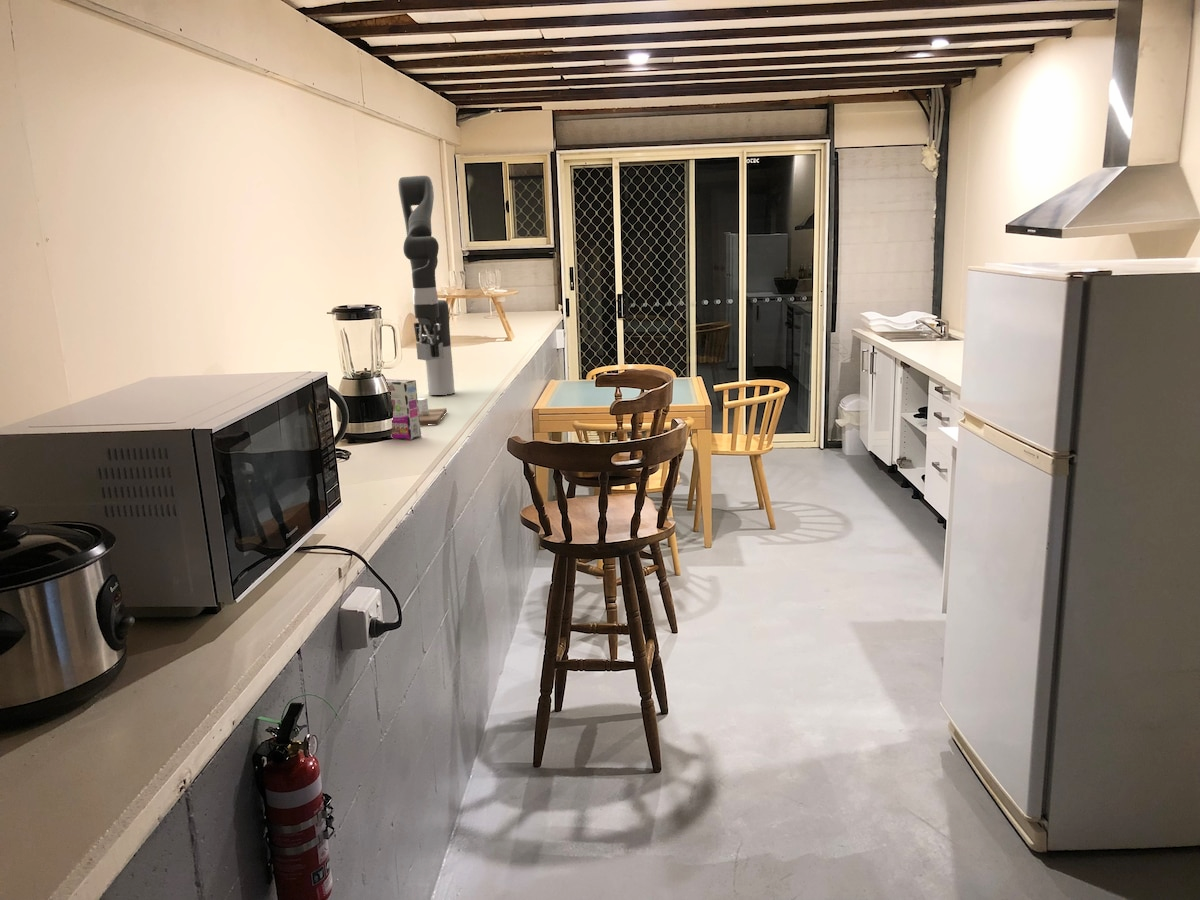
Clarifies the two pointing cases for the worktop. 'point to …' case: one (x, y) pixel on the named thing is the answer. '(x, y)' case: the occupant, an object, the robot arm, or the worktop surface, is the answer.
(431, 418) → the walnut base
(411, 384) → the candy bar box
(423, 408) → the square post
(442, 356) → the hollow metal block
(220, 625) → the worktop surface
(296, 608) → the worktop surface
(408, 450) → the worktop surface
